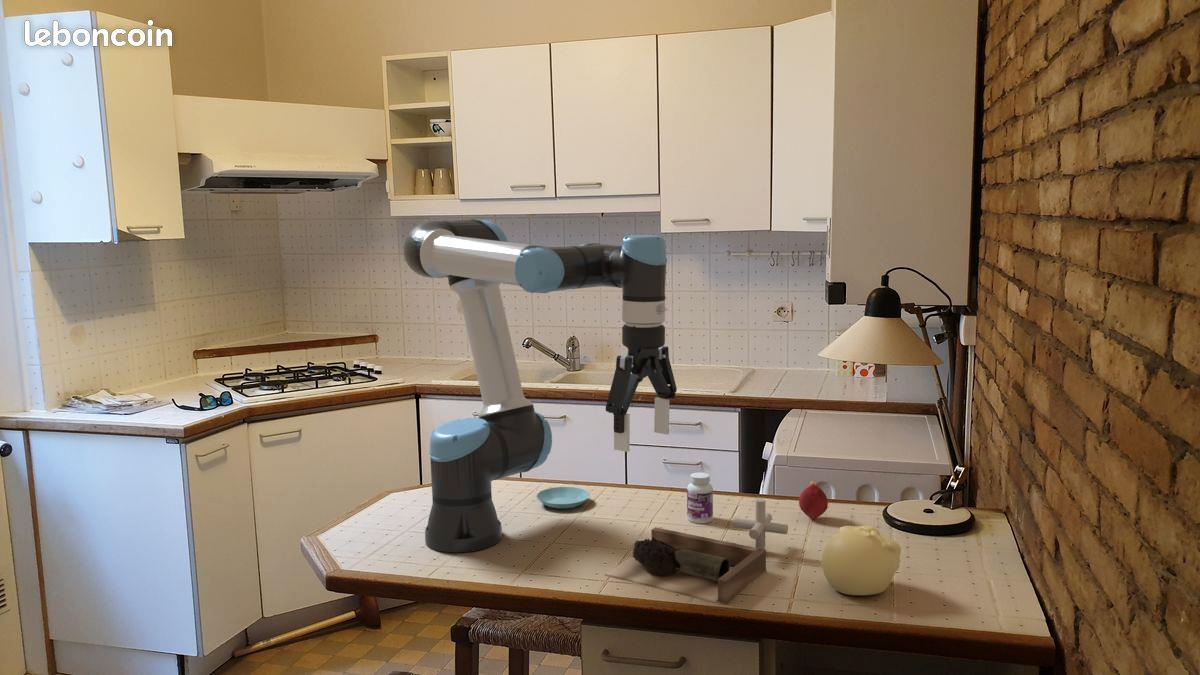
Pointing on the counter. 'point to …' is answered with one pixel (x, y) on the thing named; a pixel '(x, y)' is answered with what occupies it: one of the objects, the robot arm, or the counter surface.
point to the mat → (666, 580)
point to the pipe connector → (760, 524)
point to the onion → (813, 501)
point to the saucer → (563, 497)
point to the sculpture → (860, 560)
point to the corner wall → (741, 558)
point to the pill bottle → (700, 498)
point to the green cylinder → (678, 560)
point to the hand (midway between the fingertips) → (642, 441)
